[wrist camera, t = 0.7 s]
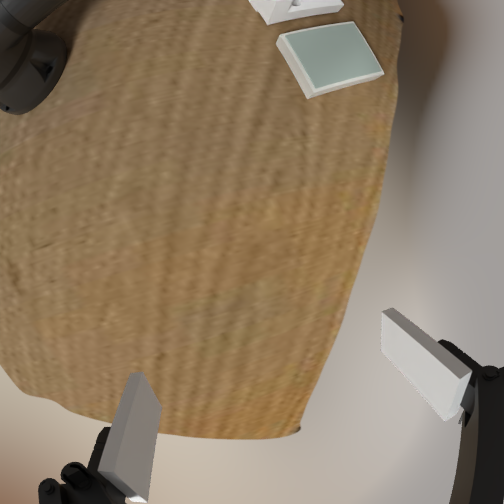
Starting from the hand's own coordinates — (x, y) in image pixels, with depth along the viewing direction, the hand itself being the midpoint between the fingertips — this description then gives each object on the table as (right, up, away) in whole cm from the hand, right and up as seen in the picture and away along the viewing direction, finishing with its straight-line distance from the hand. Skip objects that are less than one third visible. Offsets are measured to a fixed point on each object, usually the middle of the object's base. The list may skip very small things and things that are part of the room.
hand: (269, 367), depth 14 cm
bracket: (+6, +45, +17) cm, 49 cm away
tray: (+11, +35, +20) cm, 41 cm away
